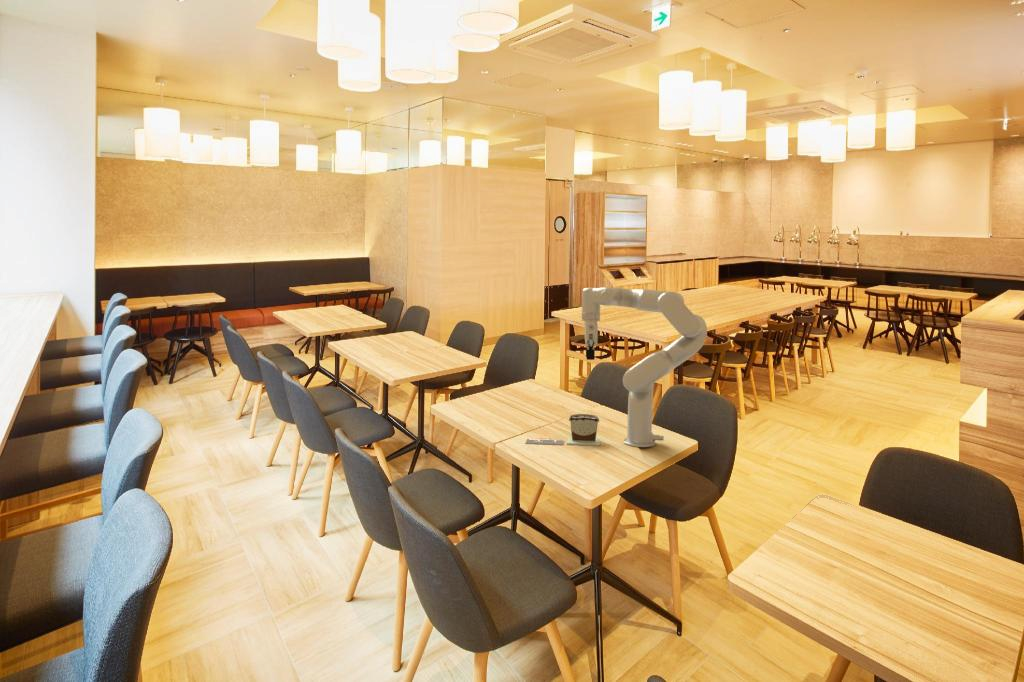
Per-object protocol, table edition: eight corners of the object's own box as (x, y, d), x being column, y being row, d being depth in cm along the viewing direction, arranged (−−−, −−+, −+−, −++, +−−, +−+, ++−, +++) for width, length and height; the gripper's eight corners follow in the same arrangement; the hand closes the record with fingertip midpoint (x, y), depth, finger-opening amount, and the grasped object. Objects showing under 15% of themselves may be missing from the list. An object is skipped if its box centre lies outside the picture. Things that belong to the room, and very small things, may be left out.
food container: (598, 438, 229) (599, 414, 228) (599, 441, 222) (599, 417, 222) (568, 436, 230) (569, 413, 229) (568, 440, 224) (568, 416, 223)
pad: (598, 438, 230) (598, 437, 230) (599, 445, 219) (600, 444, 219) (567, 437, 231) (567, 436, 231) (567, 444, 220) (567, 443, 220)
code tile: (563, 438, 230) (563, 437, 230) (563, 445, 219) (563, 444, 219) (527, 437, 232) (527, 436, 232) (525, 443, 221) (525, 443, 221)
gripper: (601, 318, 221) (600, 360, 222) (598, 317, 238) (598, 356, 239) (582, 317, 221) (581, 360, 222) (581, 316, 238) (580, 356, 240)
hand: (590, 358), depth 231 cm, fingers open, 9 cm apart
